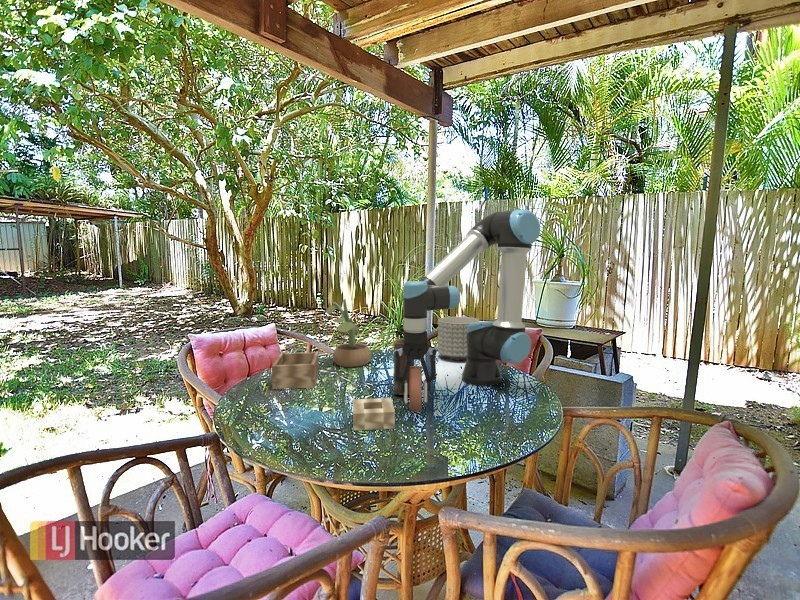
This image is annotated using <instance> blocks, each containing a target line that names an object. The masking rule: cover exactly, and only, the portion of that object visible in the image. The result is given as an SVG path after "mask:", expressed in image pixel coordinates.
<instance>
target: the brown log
mask: <svg viewBox="0 0 800 600" xmlns="http://www.w3.org/2000/svg"><path fill="white" fill-rule="evenodd" d="M402 346H403V338H398V339H395V340H394V341H393V351H394V350H395V349H397V350H398V349H401V348H402ZM406 357H407V356H406V355H405V353H404V352H402V355H401V356H400V376H399V377H401V375H402V372H403V368H404V365H405V362H406ZM395 362H396V356H395V353H394V352H393V393H394V394H395V395H398V396H404V392H401V382H399V381H396V380H395ZM410 366H415V360H411V363H410ZM410 366H409V367H410ZM405 381H407V396H408V395H409V370H408V373H407V376H406V380H405Z"/></svg>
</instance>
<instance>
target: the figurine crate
mask: <svg viewBox="0 0 800 600" xmlns="http://www.w3.org/2000/svg"><path fill="white" fill-rule="evenodd" d="M319 365H320V364H319V352H318V351H317V352H293V353H292V352H290V353H289V352H287V353H286V352H284V353H282V352H281V353H279V355H278V356H277V358H276V359H275V360H274V362H273V364H272V365H271V382H272V383H271V384H272V385H271V386H272V389H273V388H307V389H315V388H316V386H317V381H318V378H319V375H318V374H320V371H319V369H320V368H319V367H320V366H319Z"/></svg>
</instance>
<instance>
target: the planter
mask: <svg viewBox="0 0 800 600" xmlns="http://www.w3.org/2000/svg"><path fill="white" fill-rule="evenodd" d="M474 322H480V319H479V318H476V317H471V316H445V317H440V318H438V320H437V325H438V326H437V353H438V354H440V355H443V356H444V357H445V358H448V359H451V360H453V361H464V360H467V327H468V325H469V324H470V323H474Z"/></svg>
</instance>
